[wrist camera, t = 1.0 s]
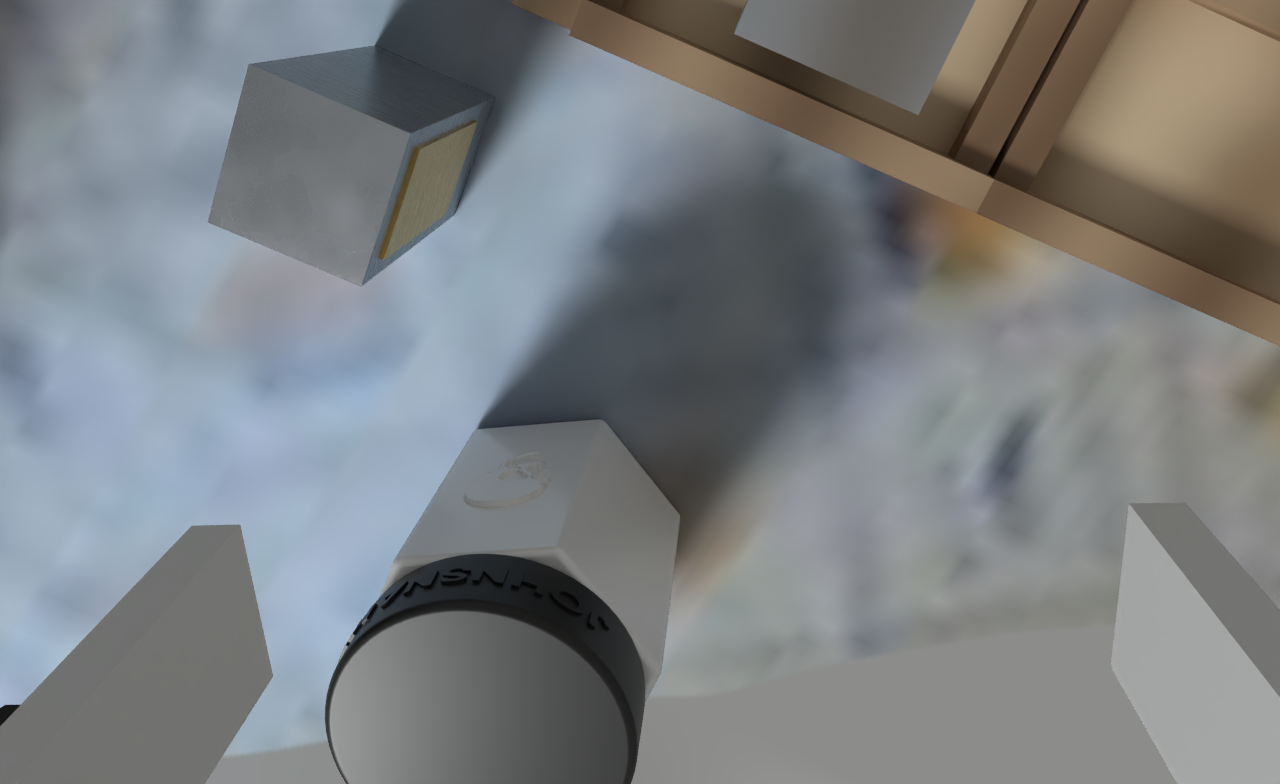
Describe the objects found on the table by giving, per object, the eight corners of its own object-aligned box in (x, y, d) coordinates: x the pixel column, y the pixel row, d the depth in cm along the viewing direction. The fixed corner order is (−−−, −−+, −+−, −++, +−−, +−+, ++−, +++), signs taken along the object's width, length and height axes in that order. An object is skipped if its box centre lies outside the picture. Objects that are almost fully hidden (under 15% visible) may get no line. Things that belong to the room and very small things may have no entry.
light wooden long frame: (528, 2, 32) (419, 9, 22) (627, -285, 29) (559, -441, 19) (1354, 364, 34) (1635, 539, 23) (1525, 124, 31) (1938, 197, 20)
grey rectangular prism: (498, 98, 33) (414, 135, 25) (457, 216, 35) (364, 288, 26) (374, 45, 33) (248, 64, 25) (338, 165, 35) (207, 222, 26)
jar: (667, 405, 36) (632, 590, 25) (693, 613, 39) (671, 863, 28) (413, 426, 38) (272, 611, 26) (455, 627, 40) (343, 871, 29)
